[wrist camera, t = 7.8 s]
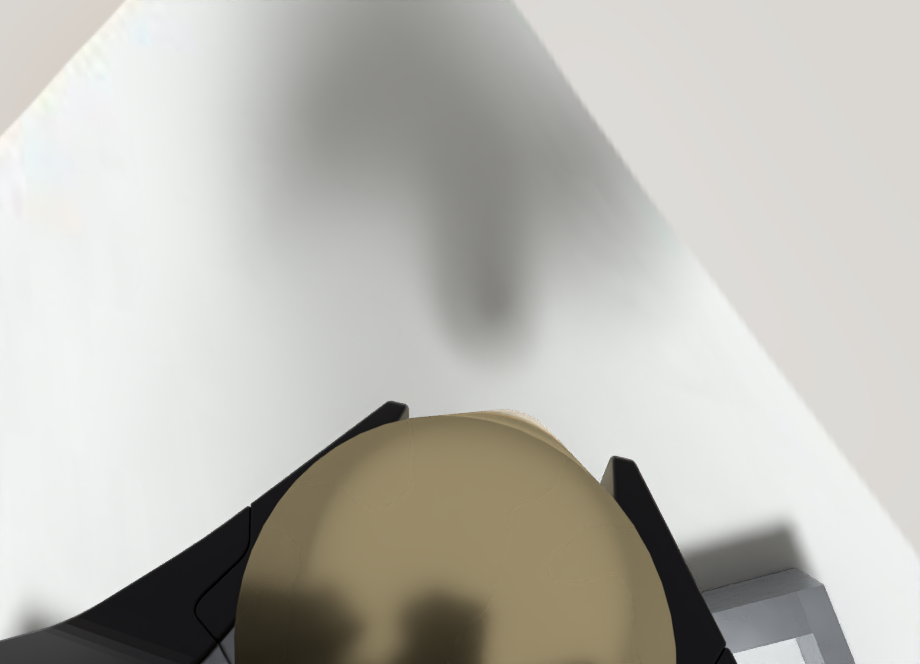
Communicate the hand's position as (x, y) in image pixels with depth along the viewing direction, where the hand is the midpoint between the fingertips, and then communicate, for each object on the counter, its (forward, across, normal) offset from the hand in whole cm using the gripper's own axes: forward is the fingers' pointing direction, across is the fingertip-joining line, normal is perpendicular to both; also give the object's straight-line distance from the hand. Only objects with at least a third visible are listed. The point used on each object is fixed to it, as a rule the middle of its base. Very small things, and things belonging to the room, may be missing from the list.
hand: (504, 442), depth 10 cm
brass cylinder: (+4, 0, +6) cm, 7 cm away
